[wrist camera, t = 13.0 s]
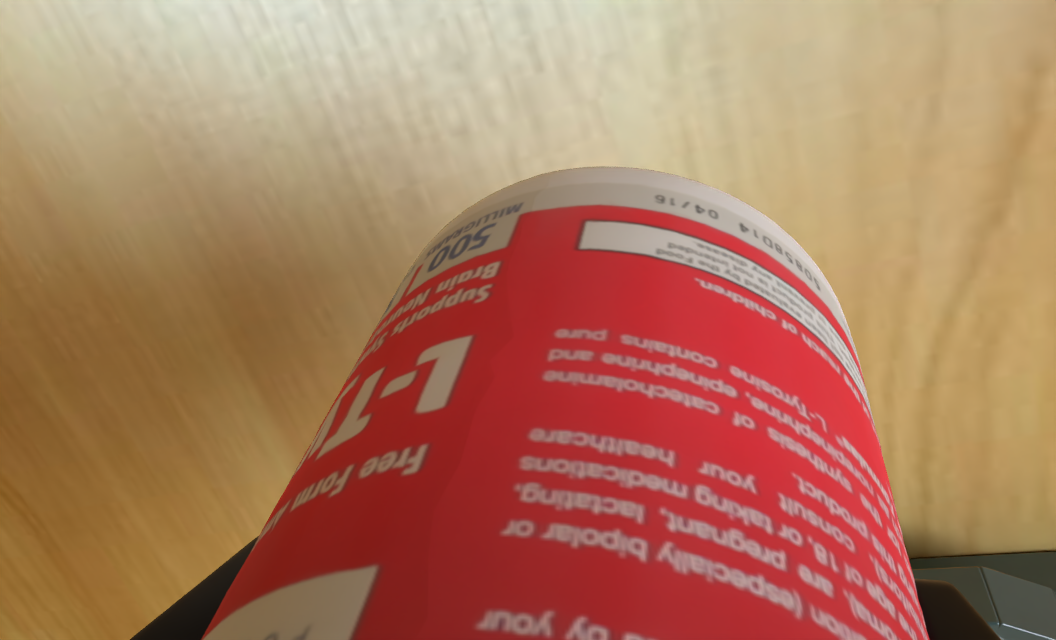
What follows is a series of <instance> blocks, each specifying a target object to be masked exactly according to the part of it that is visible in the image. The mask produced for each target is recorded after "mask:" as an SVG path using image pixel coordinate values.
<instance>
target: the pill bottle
mask: <svg viewBox="0 0 1056 640" xmlns="http://www.w3.org/2000/svg"><path fill="white" fill-rule="evenodd" d="M201 640H930V639H929V636H928V633H927V629H926V625H925V621H924V617H923V612H922V609H921V606H920V603H919V600H918V596H917V591H916V585H915V580H914V577H913V573H912V569H911V566H910V562H909V558H908V555H907V552H906V548H905V545H904V541H903V536H902V530H901V527H900V524H899V520H898V516H897V512H896V508H895V504H894V500H893V496H892V492H891V488H890V483H889V479H888V475H887V472H886V468H885V464H884V461H883V456H882V451H881V446H880V442H879V439H878V436H877V433H876V430H875V425H874V421H873V417H872V413H871V409H870V404H869V400H868V396H867V392H866V388H865V384H864V380H863V375H862V371H861V367H860V362H859V359H858V355H857V352H856V348H855V346H854V343H853V340H852V337H851V334H850V330H849V327H848V324H847V322H846V319H845V316H844V314H843V311H842V308H841V306H840V303H839V301H838V299H837V298H836V296H835V294H834V292H833V290H832V288H831V286H830V284H829V283H828V281H827V280H826V278H825V276H824V275H823V273H822V272H821V270H820V269H819V268H818V266H817V265H816V264H815V262H814V261H813V260H812V259H811V257H810V256H809V255H808V254H807V253H806V252H805V250H804V249H803V248H802V247H801V246H800V245H799V244H798V243H797V242H796V241H795V240H794V239H793V238H792V237H791V236H790V235H789V234H788V233H786V232H785V231H784V230H783V229H782V228H781V227H780V226H778V225H777V224H776V223H775V222H774V221H773V220H771V219H770V218H768V217H767V216H765V215H764V214H762V213H761V212H759V211H758V210H756V209H755V208H753V207H752V206H750V205H748V204H746V203H744V202H743V201H741V200H739V199H737V198H736V197H734V196H732V195H730V194H727V193H725V192H723V191H721V190H718V189H716V188H713V187H711V186H708V185H705V184H703V183H700V182H698V181H694V180H691V179H687V178H684V177H680V176H677V175H673V174H668V173H663V172H659V171H654V170H646V169H638V168H626V167H584V168H574V169H566V170H559V171H554V172H550V173H545V174H541V175H537V176H534V177H532V178H529V179H526V180H523V181H520V182H518V183H515V184H513V185H510V186H508V187H505V188H503V189H501V190H499V191H497V192H495V193H493V194H491V195H489V196H487V197H486V198H484V199H482V200H481V201H479V202H477V203H476V204H474V205H472V206H471V207H469V208H467V209H466V210H465V211H464V212H462V213H461V214H460V215H459V216H457V217H456V218H455V219H453V220H452V221H451V222H450V223H449V224H447V225H446V226H445V227H444V228H443V229H442V230H441V231H440V232H439V233H438V234H437V235H436V236H435V237H434V238H433V239H432V240H431V242H430V243H429V244H428V245H427V246H426V247H425V248H424V250H423V251H422V252H421V254H420V255H419V256H418V258H417V259H416V260H415V262H414V263H413V265H412V266H411V268H410V269H409V271H408V273H407V274H406V276H405V278H404V279H403V281H402V283H401V284H400V286H399V288H398V289H397V291H396V293H395V295H394V296H393V298H392V300H391V302H390V304H389V305H388V307H387V309H386V311H385V313H384V314H383V316H382V318H381V320H380V322H379V323H378V325H377V327H376V329H375V330H374V332H373V334H372V336H371V337H370V339H369V341H368V343H367V345H366V346H365V348H364V350H363V352H362V353H361V355H360V357H359V359H358V360H357V362H356V364H355V366H354V368H353V369H352V371H351V373H350V375H349V377H348V378H347V380H346V382H345V384H344V386H343V388H342V390H341V391H340V393H339V395H338V396H337V398H336V400H335V402H334V403H333V405H332V407H331V409H330V410H329V412H328V414H327V416H326V417H325V419H324V421H323V423H322V424H321V426H320V428H319V430H318V432H317V434H316V436H315V438H314V440H313V442H312V443H311V445H310V446H309V448H308V449H307V451H306V453H305V455H304V456H303V458H302V460H301V462H300V464H299V465H298V467H297V469H296V471H295V473H294V475H293V476H292V478H291V480H290V482H289V484H288V486H287V487H286V489H285V491H284V493H283V495H282V496H281V498H280V500H279V501H278V503H277V505H276V506H275V508H274V510H273V512H272V514H271V515H270V517H269V519H268V521H267V523H266V524H265V526H264V528H263V530H262V532H261V534H260V535H259V537H258V539H257V541H256V543H255V545H254V547H253V549H252V551H251V552H250V554H249V556H248V558H247V559H246V561H245V563H244V564H243V566H242V568H241V569H240V571H239V573H238V574H237V576H236V578H235V579H234V581H233V583H232V585H231V586H230V588H229V590H228V591H227V593H226V595H225V597H224V599H223V601H222V602H221V604H220V606H219V608H218V610H217V612H216V614H215V616H214V617H213V619H212V621H211V623H210V625H209V626H208V628H207V630H206V632H205V634H204V635H203V637H202V639H201Z"/></svg>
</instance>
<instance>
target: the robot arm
mask: <svg viewBox="0 0 1056 640" xmlns="http://www.w3.org/2000/svg"><path fill="white" fill-rule="evenodd" d="M258 537H259V536H258ZM258 537H257V538H255V539H254V540H253V541H251V542H250V543H249V544H248V545H246V546H245V547H244V548H243V549H241V550H240V551H239V552H238V553H237V554H235V555H234V556H233V557H232V558H230V559H229V560H228V561H227V562H225V563H224V564H223V565H222V566H220V567H219V568H218V569H217V570H215V571H214V572H213V573H212V574H210V575H209V576H208V577H207V578H206V579H204V580H203V581H202V582H201V583H199V584H198V585H197V586H196V587H194V588H193V589H192V590H191V591H189V592H188V593H187V594H186V595H184V596H183V597H182V598H181V599H179V600H178V601H177V602H176V603H175V604H173V605H172V606H171V607H170V608H168V609H167V610H166V611H165V612H163V613H162V614H161V615H160V616H158V617H157V618H156V619H155V620H153V621H152V622H151V623H150V624H148V625H147V626H146V627H145V628H143V629H142V630H141V631H140V632H139V633H137V634H136V635H135V636H134V637H132V638H131V639H130V640H201V639H202V637H203V635H204V634H205V632H206V630H207V628H208V626H209V625H210V623H211V621H212V619H213V617H214V616H215V614H216V612H217V610H218V608H219V606H220V604H221V602H222V601H223V599H224V597H225V595H226V593H227V591H228V590H229V588H230V586H231V585H232V583H233V581H234V579H235V578H236V576H237V574H238V573H239V571H240V569H241V568H242V566H243V564H244V563H245V561H246V559H247V558H248V556H249V554H250V552H251V551H252V549H253V547H254V545H255V543H256V541H257V539H258ZM914 580H915V585H916V591H917V596H918V600H919V603H920V606H921V609H922V612H923V617H924V621H925V625H926V629H927V633H928V636H929V639H930V640H1001V639H1000V637H999V636H998V635H997V634H996V633H995V632H994V631H993V629H992V628H991V627H990V626H989V625H988V624H987V623H986V621H985V620H984V619H983V618H982V617H981V616H980V614H979V613H978V612H977V611H976V610H975V609H974V608H973V606H972V605H971V604H970V603H969V602H968V601H967V600H966V598H965V597H964V596H963V595H962V594H961V593H960V591H959V590H958V589H957V588H956V587H955V586H953V585H952V584H950V583H948V582H946V581H940V580H926V579H914Z"/></svg>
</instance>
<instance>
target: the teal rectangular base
mask: <svg viewBox="0 0 1056 640" xmlns="http://www.w3.org/2000/svg"><path fill="white" fill-rule="evenodd" d="M909 562H910V566H911V569H912V573H913V577H914V579H926V580H940V581H946V582H948V583H950V584H952V585H953V586H955V587H956V588H957V589H958V590H959V591H960V593H961V594H962V595H963V596H964V597H965V598H966V600H967V601H968V602H969V603H970V604H971V605H972V606H973V608H974V609H975V610H976V611H977V612H978V613H979V614H980V616H981V617H982V618H983V619H984V620H985V621H986V623H987V624H988V625H989V626H990V627H991V628H992V629H993V631H994V632H995V633H996V634H997V635H998V636H999V637H1000V639H1001V640H1056V552H1036V553H1016V554H997V555H977V556H958V557H938V558H918V559H909Z"/></svg>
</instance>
